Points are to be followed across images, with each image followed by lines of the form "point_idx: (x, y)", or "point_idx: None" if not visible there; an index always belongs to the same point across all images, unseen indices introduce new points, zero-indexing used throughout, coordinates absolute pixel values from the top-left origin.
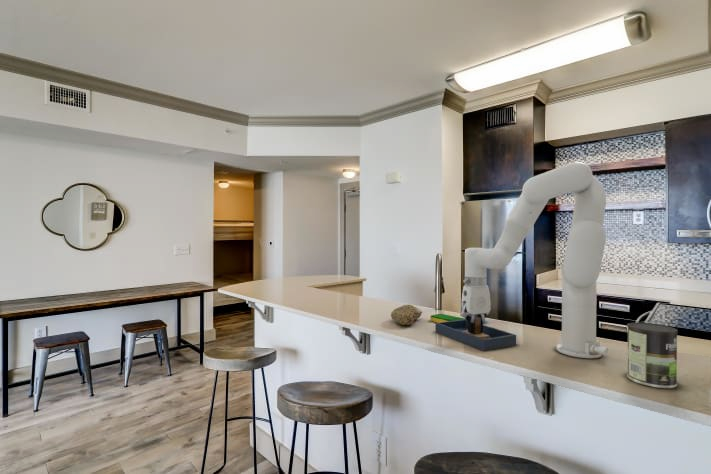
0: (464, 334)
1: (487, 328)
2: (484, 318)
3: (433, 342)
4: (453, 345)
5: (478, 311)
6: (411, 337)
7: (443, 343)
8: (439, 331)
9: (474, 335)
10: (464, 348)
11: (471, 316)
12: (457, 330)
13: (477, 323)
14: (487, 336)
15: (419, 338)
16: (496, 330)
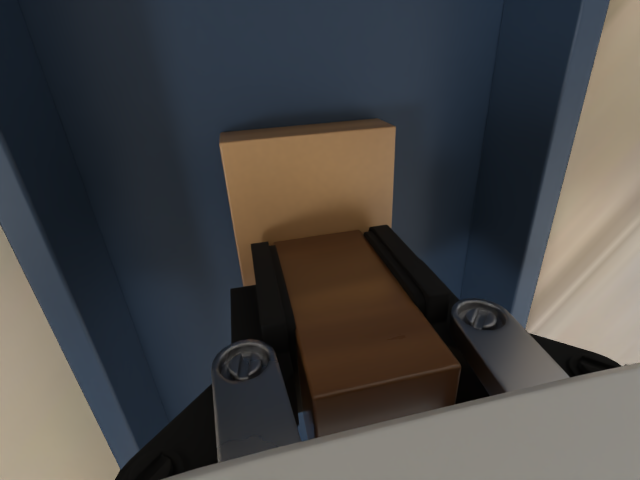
0: (551, 179)
1: (103, 341)
2: (186, 407)
3: (633, 249)
4: (598, 138)
5: (604, 443)
6: (633, 363)
7: (607, 209)
8: None
9: (389, 198)
10: (607, 18)
11: (559, 378)
12: (532, 290)
13: (360, 307)
14: (252, 138)
15: (619, 340)
16: (40, 202)
